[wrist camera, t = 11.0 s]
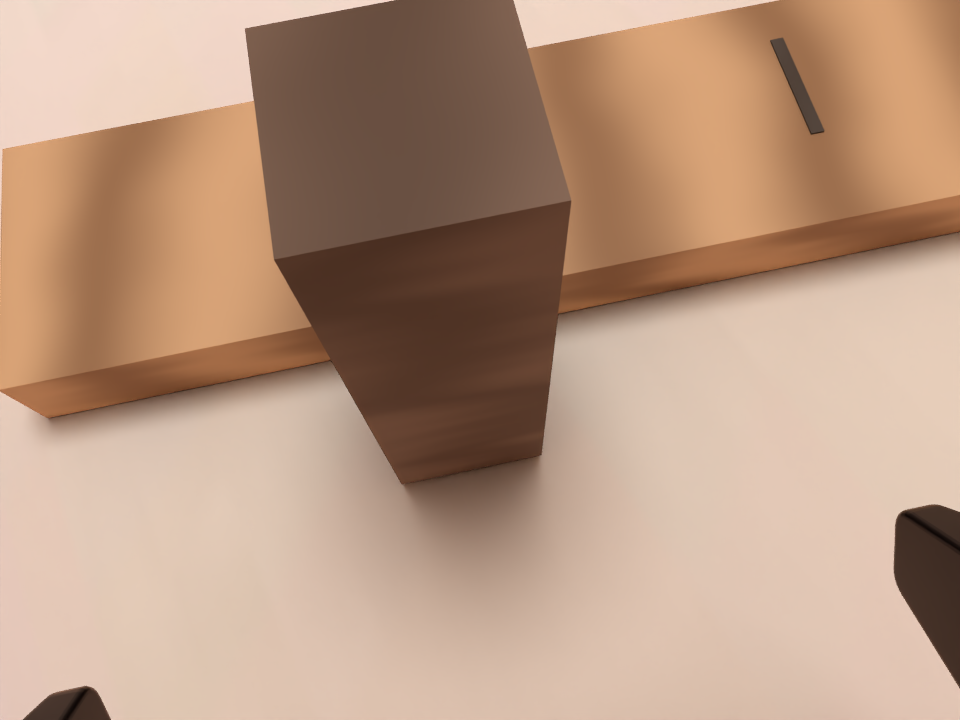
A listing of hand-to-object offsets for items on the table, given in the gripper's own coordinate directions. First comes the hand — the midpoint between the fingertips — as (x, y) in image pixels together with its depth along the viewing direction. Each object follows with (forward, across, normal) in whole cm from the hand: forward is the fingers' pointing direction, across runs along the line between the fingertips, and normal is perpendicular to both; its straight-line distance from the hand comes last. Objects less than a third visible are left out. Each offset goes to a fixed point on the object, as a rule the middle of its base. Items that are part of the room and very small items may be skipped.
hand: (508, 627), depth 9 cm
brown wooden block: (+17, 0, +1) cm, 17 cm away
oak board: (+19, -6, 0) cm, 20 cm away
